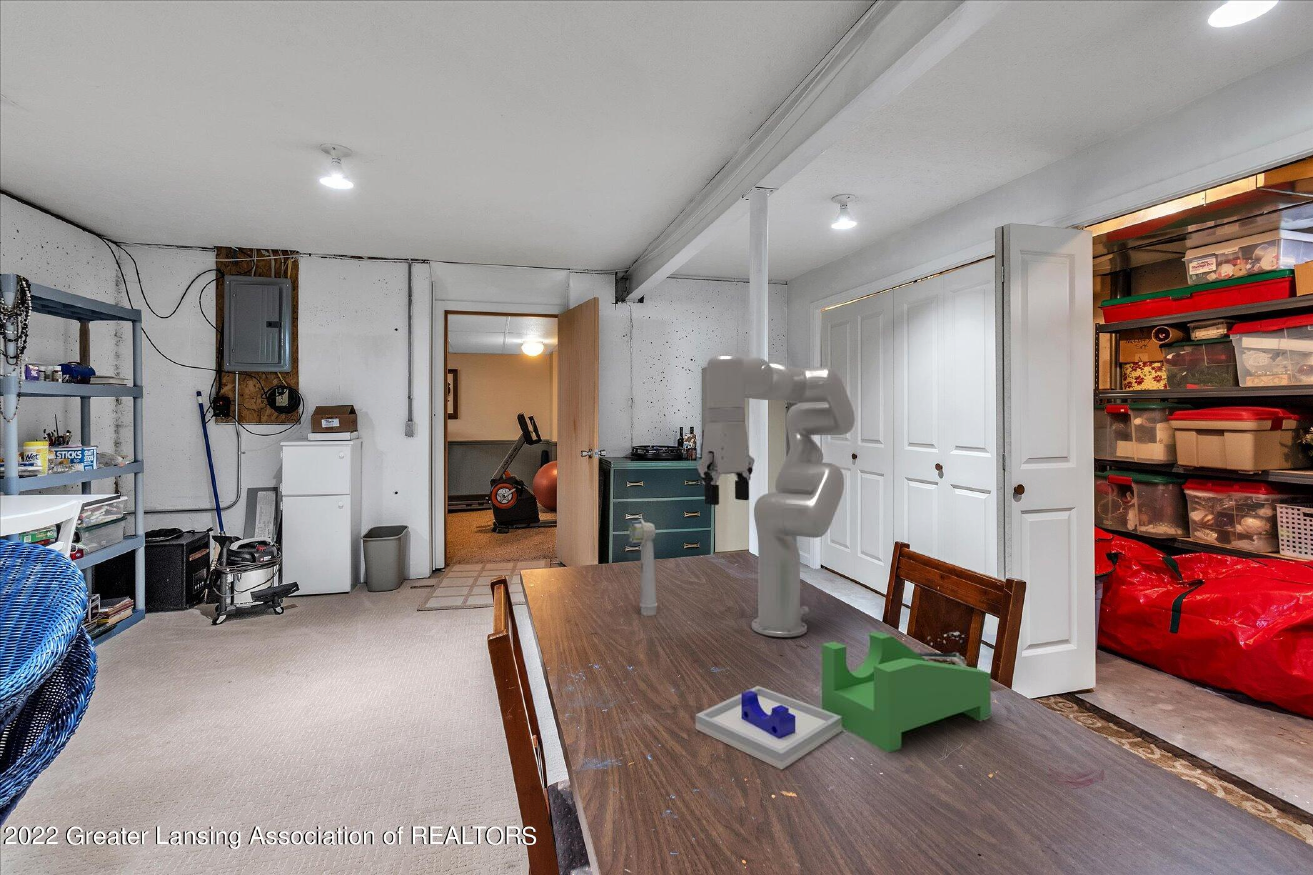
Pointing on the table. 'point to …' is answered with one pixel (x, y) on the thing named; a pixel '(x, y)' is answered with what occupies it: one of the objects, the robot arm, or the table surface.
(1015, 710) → the table surface
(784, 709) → the cable holder
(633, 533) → the toothbrush head
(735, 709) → the tray
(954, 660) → the silver rectangular box
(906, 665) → the green cradle stand
